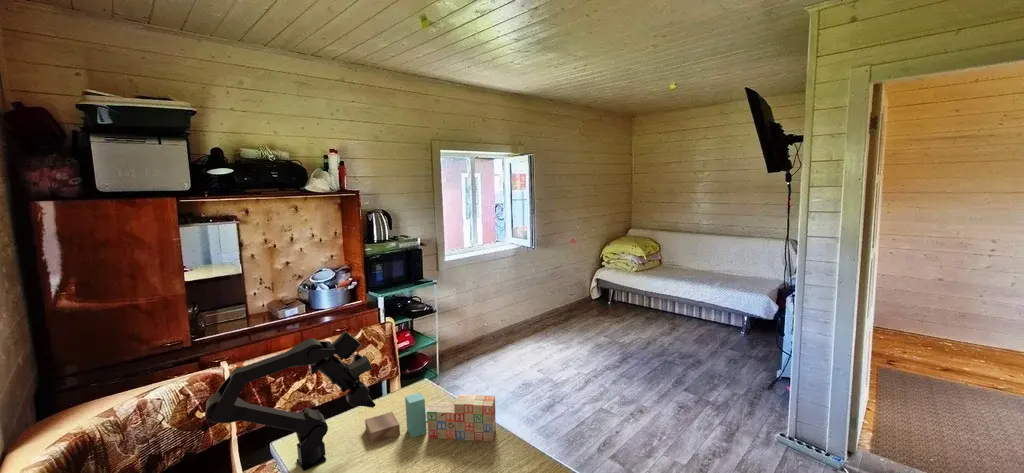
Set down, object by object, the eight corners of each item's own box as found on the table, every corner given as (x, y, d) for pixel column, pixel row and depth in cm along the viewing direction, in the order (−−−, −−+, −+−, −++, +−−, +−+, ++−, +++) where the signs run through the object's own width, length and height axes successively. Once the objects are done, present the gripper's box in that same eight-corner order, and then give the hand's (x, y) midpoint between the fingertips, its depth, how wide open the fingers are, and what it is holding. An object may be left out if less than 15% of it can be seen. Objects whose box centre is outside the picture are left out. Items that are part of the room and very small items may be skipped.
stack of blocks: (427, 438, 138) (425, 402, 136) (433, 427, 144) (431, 392, 142) (493, 441, 135) (492, 405, 133) (496, 430, 141) (495, 395, 140)
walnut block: (371, 444, 135) (371, 433, 135) (365, 430, 143) (365, 419, 142) (400, 435, 140) (399, 424, 139) (392, 422, 147) (392, 411, 147)
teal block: (411, 438, 138) (409, 403, 136) (407, 430, 142) (405, 396, 140) (426, 433, 140) (424, 398, 139) (421, 425, 145) (419, 392, 143)
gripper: (363, 360, 124) (398, 391, 130) (350, 340, 139) (382, 369, 146) (332, 391, 120) (370, 421, 126) (322, 367, 136) (356, 395, 142)
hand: (370, 399), depth 135 cm, fingers open, 9 cm apart
